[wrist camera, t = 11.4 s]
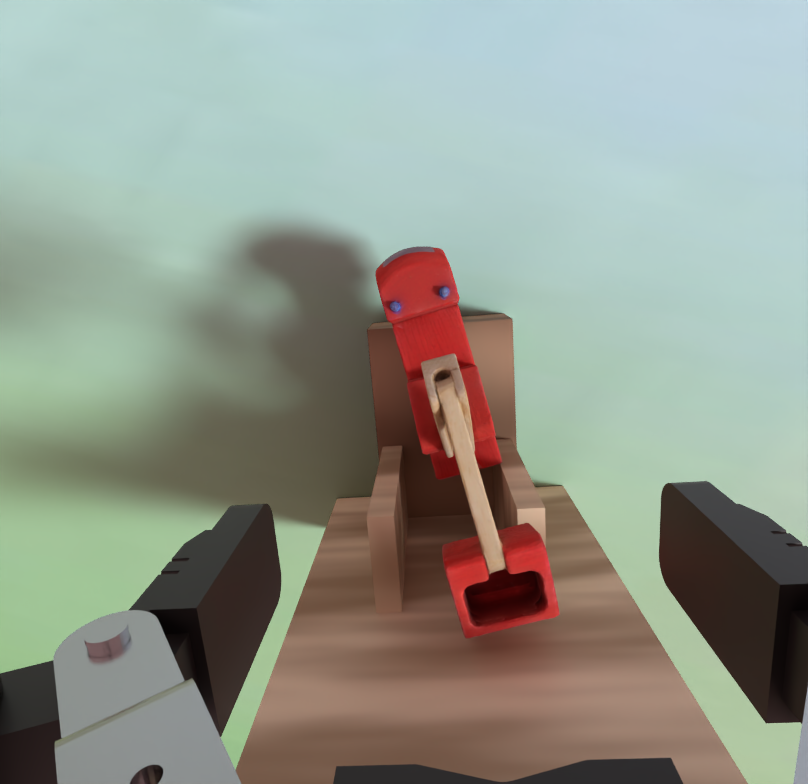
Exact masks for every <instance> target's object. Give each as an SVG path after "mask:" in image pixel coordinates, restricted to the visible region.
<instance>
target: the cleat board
mask: <svg viewBox="0 0 808 784" xmlns="http://www.w3.org/2000/svg"><path fill="white" fill-rule="evenodd" d="M462 320H463V324H464V328H465V331H466V335H467V338H468V342H469V345H470V348H471V351H472V355H473V359H474V363H475V365H476V366H477V367H478V371H479V375H480V378H481V382H482V385H483V389H484V392H485V396H486V399H487V403H488V406H489V410H490V414H491V417H492V421H493V425H494V430H495V434H496V436H495V437H496V441H497V444H498V448H499V451H500V455H501V458H502V463H500V464H497V465H494V466H491V467H487V468H483V469H480V470H479V471H480V475H481V478H482V482H483V485H484V488H485V492H486V496H487V499H488V502H489V506H490V509H491V512H492V516H493V519H494V522H495V526H496V529H497V530H501V529H505V528H507V527H512V526H515V525H520V524H524V523H529V524H530V525H531V526H533V528H535V530H536V531H538V533H540V535H541V537H542V540H543V542H544V545H545V547H546V551H547V555H548V560H549V564H550V569H551V573H552V577H553V581H554V587H555V591H556V597H557V601H558V607H559V612H560V614H559V615H558V616H556V617H555V618H550V619H545V620H541V621H537V622H533V623H529V624H524V625H520V626H517V627H513V628H509V629H504V630H501V631H496V632H492V633H488V634H484V635H481V636H476V637H472V638H465V636H464V634H463V630H462V628H461V623H460V621H459V617H458V615H457V610H456V608H455V603H454V600H453V597H452V594H451V590H450V587H449V583H448V580H447V577H446V573H445V569H444V563H443V556H442V554H443V553H442V546H443V545H444V544H447V543H451V542H453V541H458V540H461V539H467V538H471V537H474V536H477V535H478V534H477V531H476V527H475V524H474V520H473V517H472V514H471V510H470V507H469V503H468V500H467V496H466V493H465V489H464V486H463V482H462V479H461V475H457V476H454V477H450V478H446V479H443V480H439V479H437V478H436V475H435V471H434V467H433V464H432V461H431V457H430V454H428V455H426V454H423V453H422V449H421V445H420V441H419V437H418V434H417V429H416V424H415V420H414V415H413V411H412V406H411V402H410V398H409V393H408V389H407V383H408V379H407V375H406V372H405V369H404V366H403V362H402V359H401V355H400V352H399V349H398V346H397V342H396V338H395V335H394V331H393V327H392V323H391V322H381V323H372V325H371V326H370V327H369V328H368V329H367V334H368V345H369V356H370V366H371V377H372V388H373V399H374V410H375V421H376V431H377V442H378V453H379V466H378V470H377V474H376V479H375V483H374V487H373V492H372V496H371V497H356V498H339V499H337V500H336V503H335V505H334V508H333V511H332V513H331V516H330V519H329V521H328V524H327V527H326V529H325V532H324V535H323V537H322V540H321V543H320V546H319V548H318V551H317V554H316V556H315V559H314V562H313V564H312V567H311V570H310V572H309V575H308V578H307V580H306V583H305V586H304V588H303V591H302V594H301V596H300V599H299V602H298V604H297V607H296V610H295V612H294V615H293V618H292V621H291V623H290V626H289V629H288V631H287V634H286V637H285V639H284V642H283V645H282V647H281V650H280V653H279V655H278V658H277V661H276V663H275V666H274V669H273V671H272V674H271V677H270V679H269V682H268V685H267V687H266V690H265V693H264V696H263V698H262V701H261V704H260V706H259V709H258V712H257V714H256V717H255V720H254V722H253V725H252V728H251V730H250V733H249V736H248V738H247V741H246V744H245V746H244V749H243V752H242V754H241V757H240V760H239V762H238V765H237V768H236V773H237V775H238V777H239V779H240V782H241V784H333V782H334V776H335V770H336V766H363V765H402V764H418V765H423V766H427V767H432V768H436V769H441V770H446V771H450V772H455V773H460V774H464V775H469V776H473V777H478V778H483V779H487V780H492V781H498V782H508V781H513V780H517V779H520V778H524V777H527V776H531V775H534V774H538V773H541V772H545V771H548V770H552V769H556V768H559V767H563V766H566V765H570V764H573V763H577V762H580V761H584V760H597V759H637V758H671V759H672V761H673V763H674V765H675V767H676V769H677V771H678V773H679V775H680V778H681V780H682V782H683V784H748V783H747V782H746V780H745V778H744V777H743V775H742V774H741V772H740V770H739V769H738V767H737V766H736V764H735V762H734V761H733V759H732V757H731V756H730V754H729V753H728V751H727V749H726V748H725V746H724V745H723V743H722V741H721V740H720V738H719V737H718V735H717V733H716V732H715V730H714V728H713V727H712V725H711V724H710V722H709V720H708V719H707V717H706V716H705V714H704V712H703V711H702V709H701V708H700V706H699V704H698V703H697V701H696V699H695V698H694V696H693V695H692V693H691V691H690V690H689V688H688V687H687V685H686V683H685V682H684V680H683V678H682V677H681V675H680V674H679V672H678V670H677V669H676V667H675V666H674V664H673V662H672V661H671V659H670V658H669V656H668V654H667V653H666V651H665V649H664V648H663V646H662V645H661V643H660V641H659V640H658V638H657V637H656V635H655V633H654V632H653V630H652V629H651V627H650V625H649V624H648V622H647V620H646V619H645V617H644V616H643V614H642V612H641V611H640V609H639V608H638V606H637V604H636V603H635V601H634V599H633V598H632V596H631V595H630V593H629V591H628V590H627V588H626V587H625V585H624V583H623V582H622V580H621V579H620V577H619V575H618V574H617V572H616V570H615V569H614V567H613V566H612V564H611V562H610V561H609V559H608V558H607V556H606V554H605V553H604V551H603V550H602V548H601V546H600V545H599V543H598V541H597V540H596V538H595V537H594V535H593V533H592V532H591V530H590V529H589V527H588V525H587V524H586V522H585V520H584V519H583V517H582V516H581V514H580V512H579V511H578V509H577V508H576V506H575V504H574V503H573V501H572V500H571V498H570V496H569V495H568V493H567V491H566V490H565V488H564V487H563V486H550V487H535V486H534V484H533V482H532V480H531V478H530V476H529V474H528V472H527V470H526V468H525V466H524V464H523V462H522V460H521V458H520V456H519V454H518V452H517V446H516V415H515V385H514V354H513V323H512V319H511V318H510V317H508V316H507V315H505V314H504V313H503V314H490V315H476V316H463V317H462Z"/></svg>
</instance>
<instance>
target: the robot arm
mask: <svg viewBox="0 0 808 784" xmlns="http://www.w3.org/2000/svg"><path fill="white" fill-rule="evenodd" d="M659 562H660V568H661V572H662V576H663V579H664V581H665V583H666V585H667V587H668V589H669V590H670V592H671V593H672V594H673V596H674V597H675V598H676V600H677V601H678V603H679V604H680V605H681V607H682V608H683V609H684V611H685V612H686V614H687V615H688V616H689V618H690V619H691V620H692V622H693V623H694V625H695V626H696V627H697V629H698V630H699V631H700V633H701V634H702V636H703V637H704V638H705V640H706V641H707V643H708V644H709V645H710V647H711V648H712V649H713V651H714V652H715V654H716V655H717V656H718V658H719V659H720V660H721V662H722V663H723V665H724V666H725V667H726V669H727V670H728V671H729V673H730V674H731V676H732V677H733V678H734V680H735V681H736V682H737V684H738V685H739V687H740V688H741V689H742V691H743V692H744V693H745V695H746V696H747V698H748V699H749V700H750V702H751V703H752V704H753V706H754V707H755V709H756V710H757V711H758V713H759V714H760V716H761V717H762V718H763V720H764V721H765V722H766V723H790V722H801V724H802V729H801V736H800V743H799V750H798V756H797V763H796V770H795V777H794V784H808V547H807V546H802V542H800V541H799V540H798V539H796V538H795V537H794V536H792V535H791V534H790V533H788V534H787V533H786V530H785V529H783V528H782V527H781V526H779V525H778V524H777V523H776V522H774V521H773V520H772V519H770V518H769V517H768V516H766V515H764V514H761V513H759V512H757V511H754V510H752V509H750V508H748V507H745V506H743V505H741V504H736V503H734V502H733V501H732V500H731V499H729V498H728V497H727V496H726V495H724V494H723V493H722V492H721V491H719V490H718V489H717V488H716V487H714V486H713V485H712V484H711V483H709V482H707V481H701V482H682V483H667V484H666V485H665V486H664V488H663V490H662V496H661V518H660V543H659ZM280 591H281V570H280V563H279V556H278V549H277V542H276V535H275V528H274V521H273V515H272V511H271V508H270V506H269V505H268V504H253V505H235V506H230V507H229V508H228V510H227V511H226V512H225V514H224V515H223V516H222V517H221V519H220V520H219V521H218V523H217V524H216V525H215V526H214V528H213V529H212V530H205V531H203V532H202V533H200V534H199V535H197V536H196V537H194V538H193V539H191V540H190V541H188V542H186V543H185V544H184V545H183V546H182V547H181V549H180V550H179V551H178V552H177V553H176V555H175V556H174V557H173V558H172V562H169V563H168V564H167V565H166V567H165V568H164V569H163V570H162V571H161V575H158V576H157V577H156V578H155V580H154V581H153V582H152V583H151V584H150V586H149V587H148V588H147V589H146V590H145V592H144V593H143V594H142V595H141V596H140V598H139V599H138V600H137V601H136V602H135V604H134V605H133V606H132V607H131V608H130V609H129V611H122V612H117V613H113V614H109V615H106V616H103V617H101V618H98V619H96V620H94V621H92V622H90V623H88V624H86V625H84V626H82V627H81V628H79V629H77V630H76V631H75V632H73V633H72V634H71V635H69V636H68V637H67V638H66V639H65V640H64V641H63V642H62V643H61V644H60V646H59V647H58V649H57V650H56V652H55V655H54V660H53V661H49V662H45V663H41V664H37V665H33V666H29V667H25V668H21V669H17V670H13V671H9V672H5V673H1V674H0V784H241V782H240V779H239V777H238V775H237V773H236V771H235V768H234V766H233V764H232V762H231V760H230V758H229V755H228V753H227V751H226V749H225V747H224V744H223V742H222V740H221V738H220V737H221V736H222V733H223V731H224V729H225V726H226V724H227V721H228V719H229V717H230V714H231V712H232V710H233V707H234V705H235V703H236V700H237V698H238V696H239V693H240V691H241V689H242V686H243V684H244V682H245V679H246V677H247V675H248V672H249V670H250V668H251V665H252V663H253V660H254V658H255V656H256V653H257V651H258V649H259V646H260V644H261V642H262V639H263V637H264V635H265V632H266V630H267V628H268V625H269V623H270V621H271V618H272V616H273V614H274V611H275V609H276V607H277V604H278V601H279V597H280ZM333 784H683V782H682V780H681V778H680V775H679V773H678V771H677V769H676V767H675V765H674V763H673V761H672V759H671V758H637V759H597V760H584V761H580V762H577V763H573V764H570V765H566V766H563V767H559V768H556V769H552V770H548V771H545V772H541V773H538V774H534V775H531V776H527V777H524V778H520V779H517V780H513V781H508V782H498V781H492V780H487V779H483V778H478V777H473V776H469V775H464V774H460V773H455V772H450V771H446V770H441V769H436V768H432V767H427V766H423V765H418V764H402V765H363V766H336V770H335V776H334V782H333Z"/></svg>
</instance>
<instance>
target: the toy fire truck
mask: <svg viewBox="0 0 808 784" xmlns="http://www.w3.org/2000/svg"><path fill="white" fill-rule="evenodd" d="M376 281H377V285H378V290H379V293H380V297H381V301H382V304H383V307H384V311H385V314H386V318H387V320H388V321H389V322H391V323H392V327H393V331H394V335H395V338H396V342H397V346H398V349H399V352H400V355H401V359H402V362H403V366H404V369H405V372H406V375H407V379H408V383H407V389H408V393H409V398H410V402H411V406H412V411H413V415H414V420H415V424H416V429H417V434H418V437H419V441H420V445H421V449H422V453H423V454H426V455H428V454H430V457H431V461H432V464H433V467H434V471H435V475H436V478H437V479H439V480H443V479H446V478H450V477H454V476H457V475H461V479H462V482H463V486H464V489H465V493H466V496H467V500H468V503H469V507H470V510H471V514H472V517H473V520H474V524H475V527H476V531H477V534H478V535H477V536H474V537H471V538H467V539H461V540H458V541H453V542H451V543H447V544H444V545H443V546H442V553H443V554H442V556H443V563H444V569H445V573H446V577H447V580H448V583H449V587H450V590H451V594H452V597H453V600H454V603H455V608H456V610H457V615H458V617H459V621H460V623H461V628H462V630H463V634H464V636H465V638H472V637H476V636H481V635H484V634H488V633H492V632H496V631H501V630H504V629H509V628H513V627H517V626H520V625H524V624H529V623H533V622H537V621H541V620H545V619H550V618H555V617H556V616H558V615H559V614H560V612H559V607H558V601H557V597H556V591H555V587H554V581H553V577H552V573H551V569H550V564H549V560H548V555H547V551H546V547H545V545H544V542H543V540H542V537H541V535H540V533H538V531H536V530H535V528H533V526H531V525H530V524H529V523H524V524H520V525H515V526H512V527H507V528H505V529H501V530H497V529H496V526H495V522H494V519H493V516H492V512H491V509H490V506H489V502H488V499H487V496H486V492H485V488H484V485H483V482H482V478H481V475H480V471H479V470H480V469H483V468H487V467H491V466H494V465H497V464H500V463H502V458H501V455H500V451H499V448H498V444H497V441H496V437H495V436H496V434H495V430H494V425H493V421H492V417H491V414H490V410H489V406H488V403H487V399H486V396H485V392H484V389H483V385H482V382H481V378H480V375H479V371H478V367H477V366H476V365H475V363H474V359H473V355H472V351H471V348H470V345H469V342H468V338H467V335H466V331H465V328H464V324H463V320H462V316H461V313H460V309H459V306H458V304H457V303H458V301H459V295H458V292H457V287H456V284H455V281H454V278H453V274H452V271H451V268H450V265H449V263H448V260H447V258H446V256H445V253H444V252H443V250H441V249H439V248H433V247H412V248H407V249H404V250H401V251H399V252H397V253H395V254H393V255H392V256H390V257H389V258H388V259H386V260H385V261H384V262H383V263H382V264H381V265H380V266H379V267H378V268H377V270H376Z"/></svg>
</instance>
